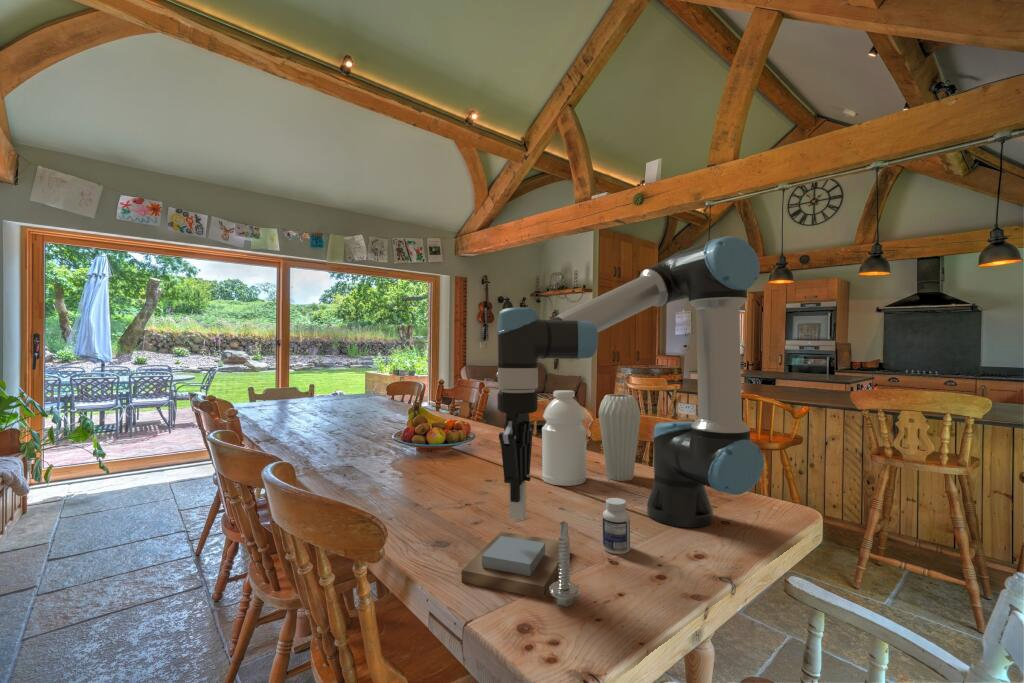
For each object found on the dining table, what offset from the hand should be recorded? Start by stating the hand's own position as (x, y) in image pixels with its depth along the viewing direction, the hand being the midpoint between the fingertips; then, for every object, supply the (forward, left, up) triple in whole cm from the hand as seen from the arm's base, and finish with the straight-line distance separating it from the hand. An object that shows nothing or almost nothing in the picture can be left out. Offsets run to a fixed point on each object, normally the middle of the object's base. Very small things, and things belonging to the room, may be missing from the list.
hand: (517, 517), depth 83 cm
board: (0, -1, -9) cm, 9 cm away
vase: (-10, -68, -10) cm, 69 cm away
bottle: (+6, -59, -10) cm, 60 cm away
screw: (-11, +8, -10) cm, 16 cm away
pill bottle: (-16, -15, -10) cm, 24 cm away
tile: (0, -3, -6) cm, 7 cm away
